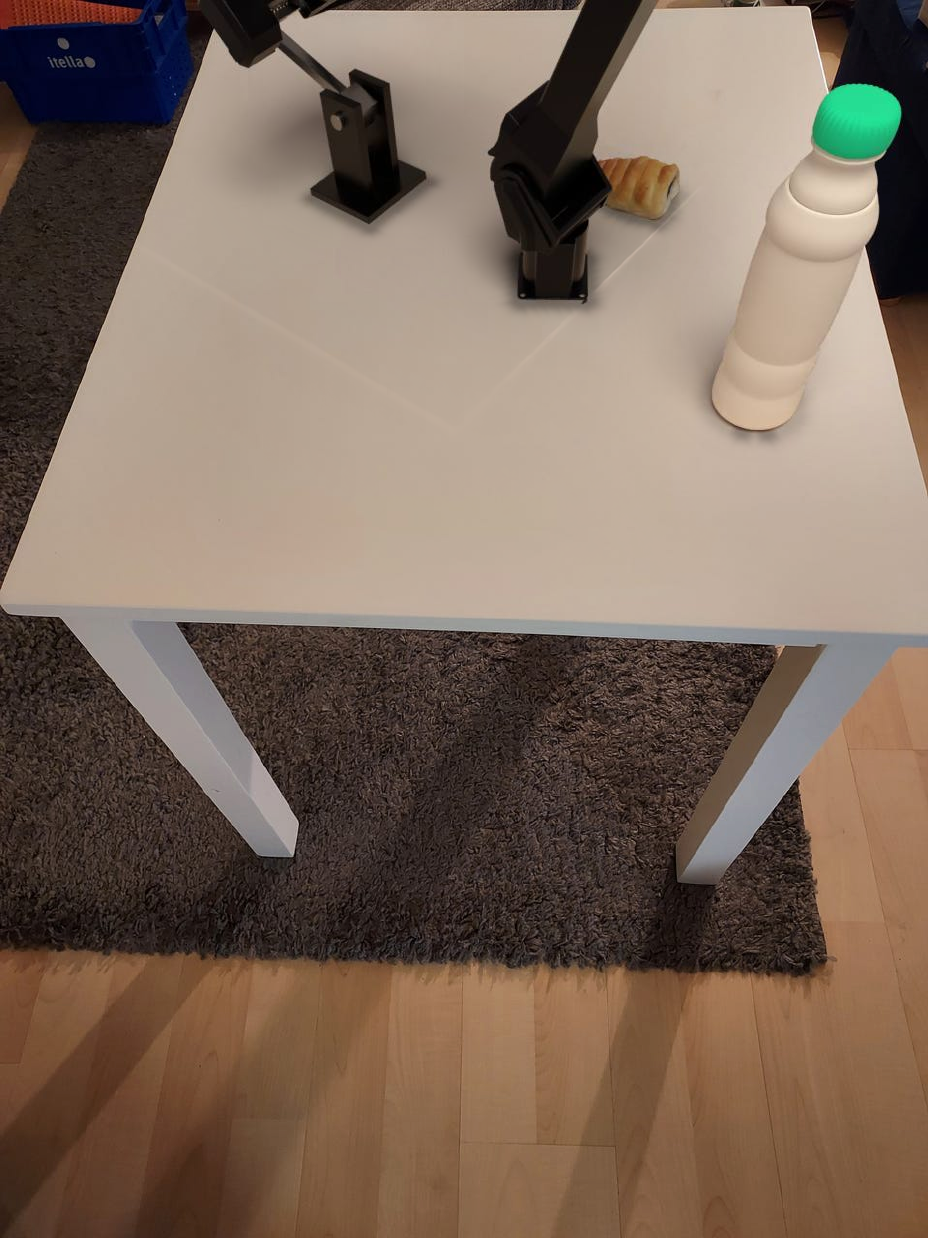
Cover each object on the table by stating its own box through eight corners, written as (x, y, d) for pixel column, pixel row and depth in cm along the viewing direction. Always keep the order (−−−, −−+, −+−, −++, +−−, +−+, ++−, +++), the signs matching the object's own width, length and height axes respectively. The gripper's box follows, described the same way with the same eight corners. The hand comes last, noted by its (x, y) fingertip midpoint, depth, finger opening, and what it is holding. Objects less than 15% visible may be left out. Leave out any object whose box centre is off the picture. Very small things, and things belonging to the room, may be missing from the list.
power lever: (237, 44, 80) (237, 20, 77) (278, 18, 82) (278, -6, 79) (347, 141, 80) (350, 120, 77) (385, 113, 82) (389, 92, 79)
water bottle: (799, 380, 72) (929, 74, 50) (790, 441, 69) (925, 143, 47) (716, 365, 73) (808, 60, 51) (703, 425, 70) (796, 126, 48)
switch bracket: (312, 198, 87) (290, 96, 78) (369, 155, 90) (355, 52, 81) (369, 228, 84) (353, 125, 75) (426, 182, 87) (418, 78, 78)
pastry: (571, 205, 84) (574, 169, 81) (594, 167, 87) (598, 131, 84) (661, 227, 82) (668, 191, 79) (682, 187, 85) (689, 151, 82)
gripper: (347, -226, 67) (280, -93, 80) (173, -139, 60) (131, -10, 74) (430, -81, 71) (353, 23, 85) (276, 15, 65) (219, 112, 78)
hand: (268, 34), depth 80 cm, fingers open, 9 cm apart
